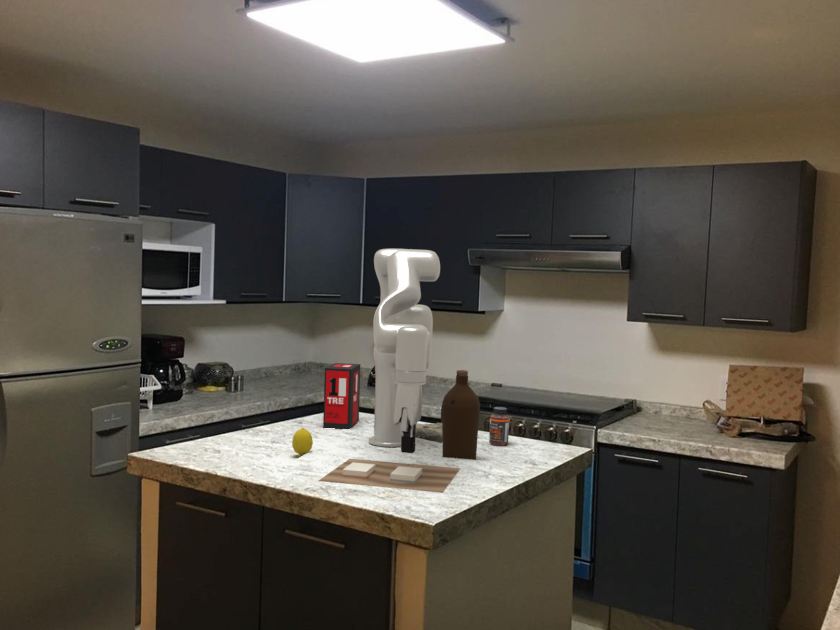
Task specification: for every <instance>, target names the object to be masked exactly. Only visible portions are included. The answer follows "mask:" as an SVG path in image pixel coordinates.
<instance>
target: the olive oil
mask: <svg viewBox="0 0 840 630" xmlns="http://www.w3.org/2000/svg"><path fill="white" fill-rule="evenodd" d="M468 374H469V371H468V370H467V369H466V370H464V369H457V370H456V375H455V384H454V385H453V386H452V387H451V389H449V390H448V391H447V392H446V393H445V395H444V397H443V400H442V403H441V419H442V420H441V421H442V422H441V423H442V437H443V442H442V445H441V446H442V452H441V453H442V454H441V455H442V458H446V459H447V458H448V459H457V460H459V459H460V460H469V461H470V460H473V461H476V460H477V451H478V450H477V449H478V448H477V447H478V434H479V425H480V424H479V422H480V413H481V412H480V411H481V402H480V399H479V396H478V394H476V392H475V391H474V390H473V389H472V387H471V386H470V385H469V375H468Z"/></svg>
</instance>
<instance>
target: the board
mask: <svg viewBox="0 0 840 630" xmlns="http://www.w3.org/2000/svg"><path fill="white" fill-rule="evenodd" d="M352 462H355V463H366V464H376V467H375V471H374V472H373V473H372V474H371V475H370V476H368V477H367V478H358V477H347V476H343V469H344V468H346V467H347V466H348V465H350V464H351V463H352ZM399 466H401V467H412V468H422V475H421V476H420V477H419V478H418V480H417V481H416V482H415V483H412V482H401V481H390V474H391V473H392V472H393V471H394V470H395V469H396V468H397V467H399ZM460 470H461V467H460V468H459V467H450V466H449V467H448V466H437V465H427V464H416V463H415V464H413V463H403V462H391V461H380V460H367V459H359V458H358V459H355V458H348V459H347V460H346V461H344V462H342V463H341V464H340V465H339V466H337V467H335V468H334V469H333V470H331V471H330V472H329V473H327V474H326V475H324V476H323V477H321V478H320V479H319V480H318V482H325V483H326V482H327V483H336V484H338V483H339V484H348V485H357V486H367V487H379V488H388V489H389V488H390V489H398V490H399V489H400V490H409V491H410V490H413V491H422V492H432V493H433V492H434V493H444V492H445V491H446V489H447V488H448V486H449V485H450V484H451V482H452V480H454V479H455V477H456V475H457V474H458V472H460ZM354 491H356V490H354ZM426 498H428V497H426Z"/></svg>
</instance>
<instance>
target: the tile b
mask: <svg viewBox="0 0 840 630" xmlns="http://www.w3.org/2000/svg"><path fill="white" fill-rule="evenodd" d="M421 475H422V468H412V467H401V466H399V467H397V468H396V469H395V470H394V471H393V472H392V473H391V474H390V481H401V482H412V483H415V482H416V481H417V480H418V478H419V477H420V476H421Z"/></svg>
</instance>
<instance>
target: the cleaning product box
mask: <svg viewBox="0 0 840 630" xmlns="http://www.w3.org/2000/svg"><path fill="white" fill-rule="evenodd" d="M323 382H324V385H323V386H324V387H323V388H324V390H323V392H324V393H323V419H322V420H323V421H322V422H323V423H322V427H323V428H322V429H324V428H335V429H334V430H342V429H350V428H351V429H353V427H354V426H355V425H356V424H358V423H359V420H360V397H361V396H360V393H361V392H360V390H361V389H360V388H361V387H360V386H361V363H341V362H340V363H339V362H338V363H337V362H335V363H332V364H330V365H329V366H327V367H325V368H324V381H323ZM351 429H350V430H351Z"/></svg>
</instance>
